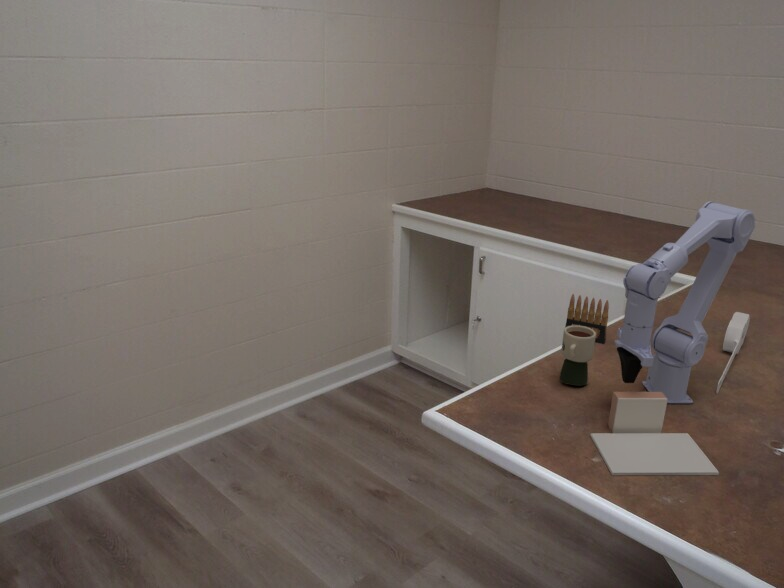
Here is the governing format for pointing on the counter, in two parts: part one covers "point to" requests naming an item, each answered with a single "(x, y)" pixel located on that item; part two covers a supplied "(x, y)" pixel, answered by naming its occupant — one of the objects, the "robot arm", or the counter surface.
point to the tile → (637, 412)
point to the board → (652, 454)
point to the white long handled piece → (734, 339)
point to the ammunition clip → (589, 317)
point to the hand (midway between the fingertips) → (628, 381)
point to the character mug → (577, 354)
